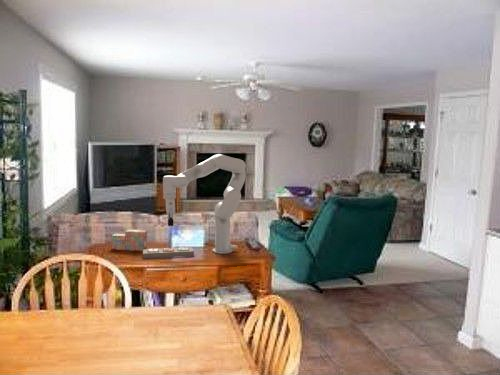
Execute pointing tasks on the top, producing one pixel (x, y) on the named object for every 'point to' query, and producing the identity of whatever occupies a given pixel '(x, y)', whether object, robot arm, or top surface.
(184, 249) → the tile two
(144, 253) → the tile panel
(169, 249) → the tile three
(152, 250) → the tile one
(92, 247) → the top surface
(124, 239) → the stack of blocks
